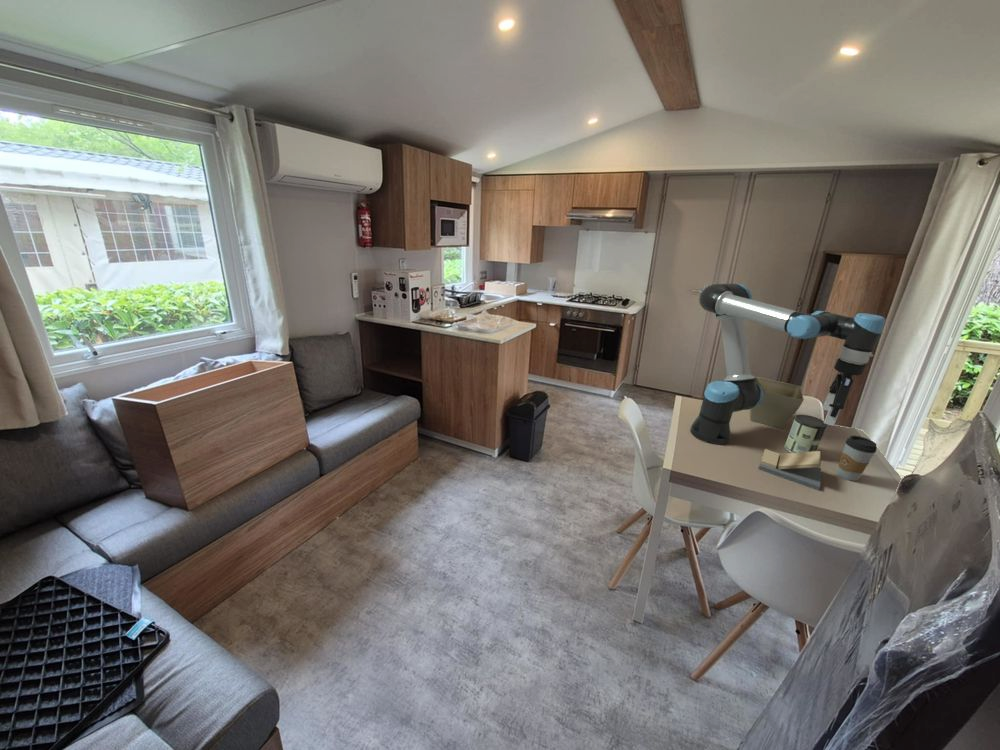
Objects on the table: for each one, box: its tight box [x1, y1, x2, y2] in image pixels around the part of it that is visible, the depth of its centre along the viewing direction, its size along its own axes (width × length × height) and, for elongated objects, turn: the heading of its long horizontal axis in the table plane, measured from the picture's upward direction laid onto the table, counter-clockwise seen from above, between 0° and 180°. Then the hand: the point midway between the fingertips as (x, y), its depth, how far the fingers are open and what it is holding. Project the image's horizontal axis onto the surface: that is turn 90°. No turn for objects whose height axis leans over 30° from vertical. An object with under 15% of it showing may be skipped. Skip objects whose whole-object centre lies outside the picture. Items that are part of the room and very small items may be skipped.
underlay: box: [758, 448, 822, 491], centre depth 144 cm, size 18×15×3 cm
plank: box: [778, 450, 822, 469], centre depth 142 cm, size 12×11×1 cm
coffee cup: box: [836, 435, 878, 482], centre depth 140 cm, size 8×8×15 cm
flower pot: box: [749, 376, 805, 429], centre depth 180 cm, size 19×19×17 cm
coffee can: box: [784, 414, 828, 453], centre depth 156 cm, size 10×10×14 cm
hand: (827, 416), depth 137 cm, fingers open, 13 cm apart
